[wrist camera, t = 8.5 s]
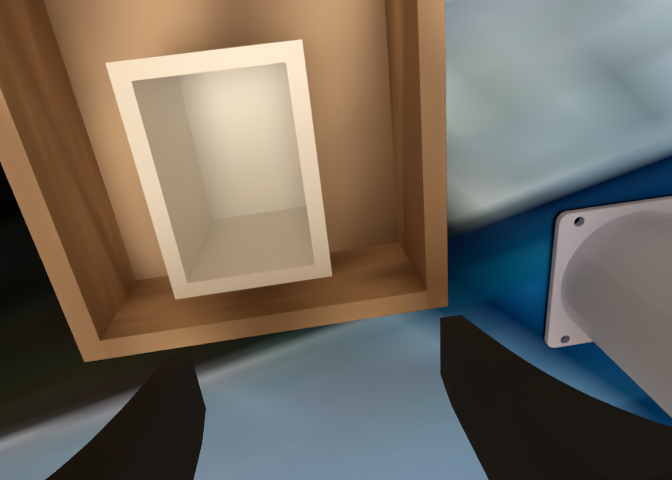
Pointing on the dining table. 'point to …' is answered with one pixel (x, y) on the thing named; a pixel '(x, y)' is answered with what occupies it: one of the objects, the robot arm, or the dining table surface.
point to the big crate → (126, 190)
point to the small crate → (227, 164)
